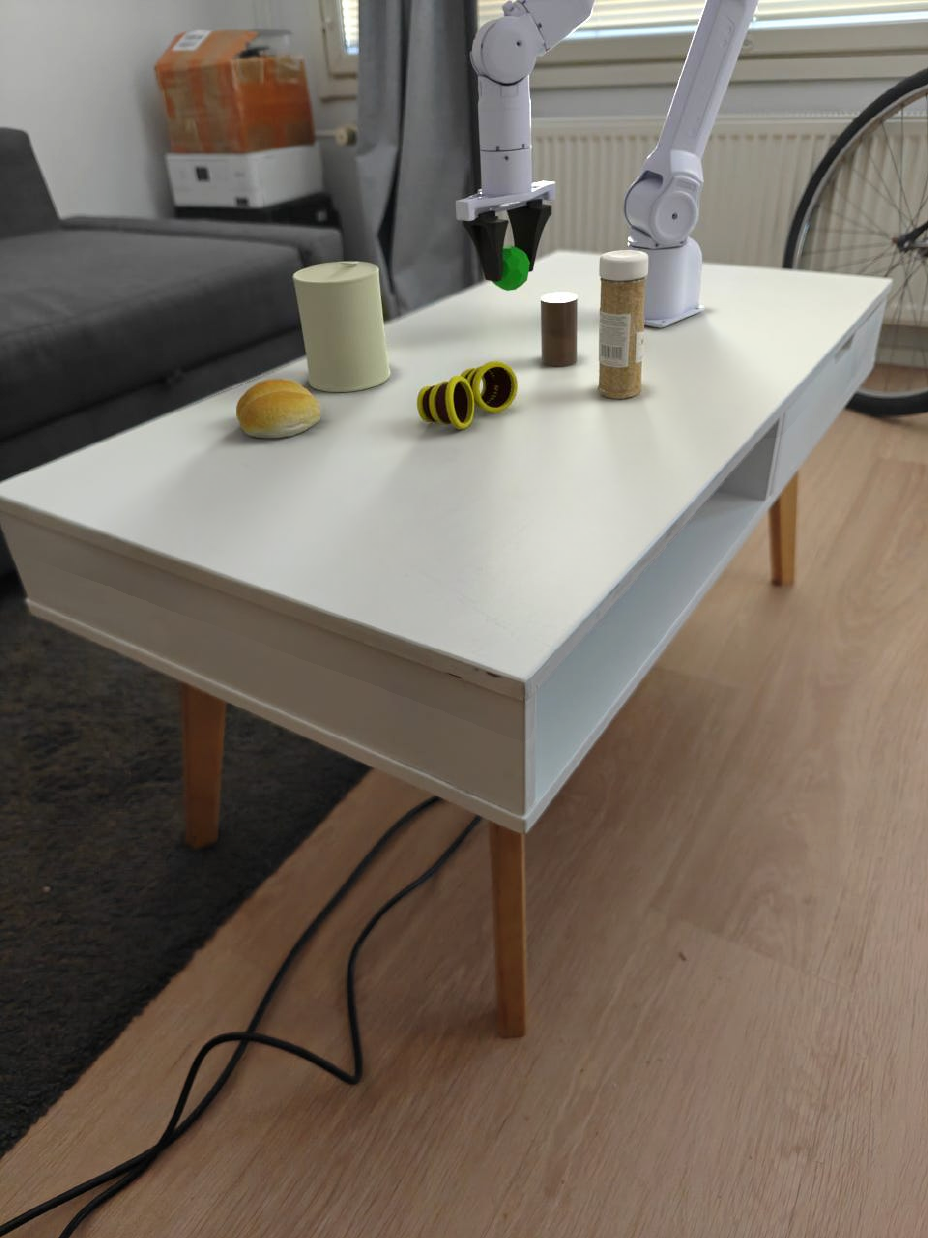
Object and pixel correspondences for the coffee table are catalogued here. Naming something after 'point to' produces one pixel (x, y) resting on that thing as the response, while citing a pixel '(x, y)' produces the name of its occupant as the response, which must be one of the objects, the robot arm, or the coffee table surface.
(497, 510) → the coffee table surface
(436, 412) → the opera glasses
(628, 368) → the sprinkles bottle
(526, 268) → the polyhedron
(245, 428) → the bread roll
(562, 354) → the walnut peg
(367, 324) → the can
